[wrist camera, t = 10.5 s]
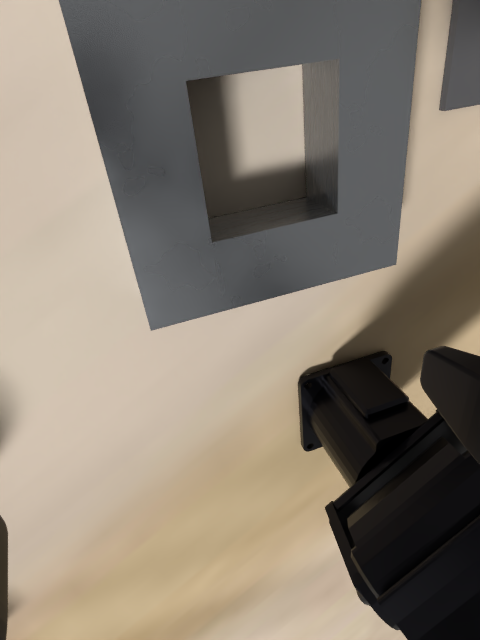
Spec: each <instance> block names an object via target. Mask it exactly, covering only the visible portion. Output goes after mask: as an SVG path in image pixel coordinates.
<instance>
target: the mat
mask: <svg viewBox="0 0 480 640" xmlns="http://www.w3.org/2000/svg"><path fill="white" fill-rule="evenodd" d="M474 105H480V0H453V6H452V14H451V22H450V30H449V37H448V45H447V53H446V61H445V69H444V77H443V84H442V92H441V100H440V108H439V110H441V111H447V110H452V109H458V108H463V107H469V106H474Z"/></svg>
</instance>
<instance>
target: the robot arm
mask: <svg viewBox="0 0 480 640" xmlns="http://www.w3.org/2000/svg"><path fill="white" fill-rule="evenodd" d="M391 363H392V356H391V355H390V354H389V353H388V352H386V351H382V352H379V353H376V354H372V355H369V356H366V357H363V358H360V359H357V360H354V361H350V362H347V363H344V364H341V365H338V366H335V367H332V368H328V369H325V370H322V371H319V372H316V373H313V374H310V375H306V376H304V377H302V378H301V379H300V380H299V382H298V395H299V414H300V432H301V445H302V447H303V449H304V450H305V451H312V450H315V449H317V448H320V447H324V449H325V450H326V452H327V453H328V455H329V457H330V458H331V460H332V461H333V463H334V464H335V466H336V467H337V469H338V470H339V472H340V473H341V475H342V476H343V478H344V479H345V481H346V482H347V484H348V485H349V487H350V488H349V489H348V490H347V491H345V492H344V493H343V494H342V495H341V496H340V497H339V498H337V499H336V500H335V501H334V502H333V501H331V502H330V503H329V504H328V505H327V506H326V507H325V510H326V512H327V515H328V517H329V520H330V521H329V523H330V526H331V528H332V531H333V533H334V536H335V539H336V541H337V544H338V546H339V549H340V552H341V554H342V557H343V559H344V562H345V564H346V567H347V570H348V572H349V575H350V577H351V580H352V583H353V585H354V586H355V588H356V591H357V595H358V597H359V598H360V600H361V601H362V602H363V603H364V604H366V605H369V606H371V607H372V608H373V610H374V611H375V612H376V613H377V614H378V616H379V617H380V618H381V619H382V620H383V621H384V622H385V623H387V624H388V625H389V626H390V627H392V628H394V629H396V630H401V631H402V633H403V634H404V635H405V637H406V638H407V639H408V640H480V356H477V355H474V354H470V353H467V352H464V351H460V350H457V349H454V348H450V347H447V346H440V347H437V348H434V349H430V350H428V351H426V353H425V354H424V357H423V364H422V370H421V377H420V382H421V386H422V388H423V390H424V391H425V393H426V394H427V396H428V397H429V398H430V400H431V401H432V403H433V404H434V405H435V407H436V408H437V410H436V413H435V414H434V415H433V416H431V417H430V418H429V419H427V418H426V417H425V416H424V415H423V414H422V413H421V412H420V411H419V410H418V409H417V408H416V407H415V406H414V405H413V404H412V403H411V402H410V401H409V397H408V396H407V395H406V394H405V393H404V392H403V391H402V390H401V389H400V388H399V387H398V386H397V385H396V384H395V383H394V382H393V381H391V380H390V373H391ZM307 383H308V384H307ZM305 384H307V385H305ZM7 617H8V531H7V527H6V524H5V522H4V520H3V518H2V517H1V516H0V640H6V634H7Z"/></svg>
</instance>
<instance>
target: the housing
mask: <svg viewBox="0 0 480 640" xmlns="http://www.w3.org/2000/svg"><path fill="white" fill-rule="evenodd" d="M59 2H60V6H61V10H62V13H63V17H64V20H65V24H66V27H67V31H68V35H69V38H70V42H71V45H72V49H73V53H74V56H75V60H76V63H77V67H78V71H79V74H80V78H81V81H82V85H83V88H84V92H85V96H86V99H87V103H88V106H89V110H90V114H91V117H92V121H93V124H94V128H95V132H96V135H97V139H98V142H99V146H100V149H101V153H102V157H103V160H104V164H105V167H106V171H107V175H108V178H109V182H110V185H111V189H112V193H113V196H114V200H115V203H116V207H117V210H118V214H119V218H120V221H121V225H122V228H123V232H124V236H125V239H126V243H127V246H128V250H129V254H130V257H131V261H132V264H133V268H134V271H135V275H136V279H137V282H138V286H139V289H140V293H141V297H142V300H143V304H144V307H145V311H146V315H147V318H148V322H149V325H150V329H151V330H155V329H159V328H163V327H166V326H170V325H174V324H177V323H181V322H185V321H188V320H192V319H196V318H200V317H203V316H207V315H211V314H214V313H218V312H222V311H226V310H229V309H233V308H237V307H240V306H244V305H248V304H252V303H255V302H259V301H263V300H266V299H270V298H274V297H277V296H281V295H285V294H289V293H292V292H296V291H300V290H303V289H307V288H311V287H315V286H318V285H322V284H326V283H329V282H333V281H337V280H340V279H344V278H348V277H352V276H355V275H359V274H363V273H366V272H370V271H374V270H378V269H381V268H385V267H389V266H392V265H396V261H397V250H398V239H399V229H400V218H401V208H402V197H403V187H404V176H405V165H406V155H407V144H408V134H409V123H410V113H411V102H412V91H413V81H414V70H415V60H416V49H417V38H418V28H419V17H420V7H421V0H59ZM299 64H302V69H303V102H304V136H305V169H306V197H305V198H301V199H296V200H292V201H287V202H282V203H278V204H273V205H269V206H264V207H260V208H255V209H250V210H246V211H241V212H237V213H232V214H228V215H223V216H218V217H214V218H209V219H208V215H207V209H206V203H205V196H204V190H203V184H202V178H201V172H200V165H199V159H198V153H197V147H196V141H195V134H194V128H193V122H192V116H191V110H190V103H189V97H188V91H187V85H186V81H188V80H195V79H202V78H209V77H216V76H223V75H230V74H237V73H244V72H251V71H258V70H265V69H272V68H279V67H286V66H293V65H299Z"/></svg>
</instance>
